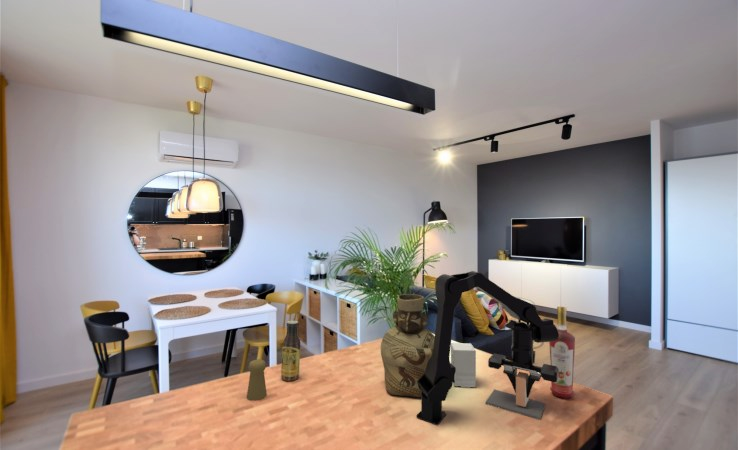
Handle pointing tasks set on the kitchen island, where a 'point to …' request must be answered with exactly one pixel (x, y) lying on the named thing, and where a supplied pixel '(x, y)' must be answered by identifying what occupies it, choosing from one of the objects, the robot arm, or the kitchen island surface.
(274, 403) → the kitchen island surface
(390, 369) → the ceramic vessel
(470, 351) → the supplement box
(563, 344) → the liquor
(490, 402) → the mat
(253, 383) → the pepper mill
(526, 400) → the slab
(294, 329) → the sauce bottle
